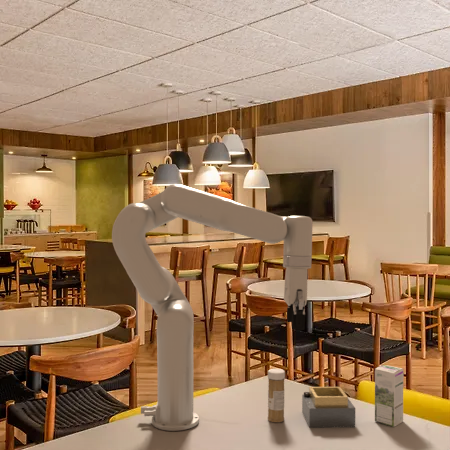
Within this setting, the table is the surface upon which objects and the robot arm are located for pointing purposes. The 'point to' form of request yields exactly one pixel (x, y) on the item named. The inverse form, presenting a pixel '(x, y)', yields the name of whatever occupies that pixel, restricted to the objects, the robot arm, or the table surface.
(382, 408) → the syrup box
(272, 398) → the sprinkles bottle
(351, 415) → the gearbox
